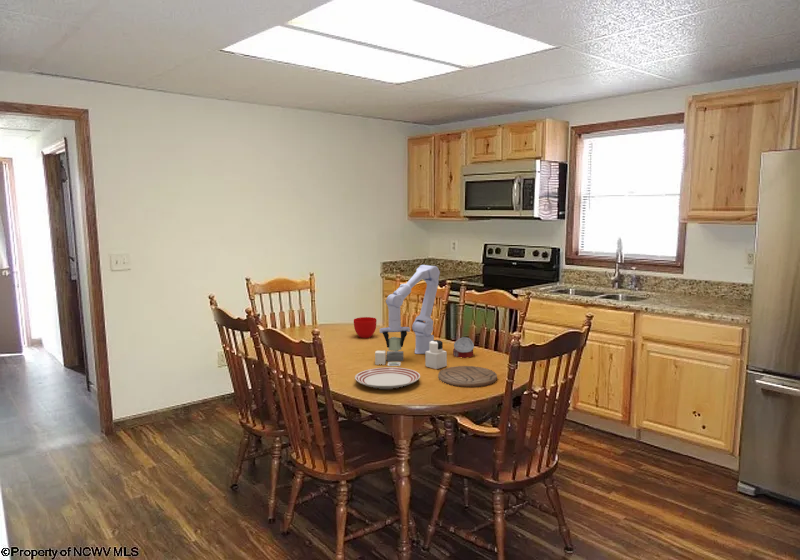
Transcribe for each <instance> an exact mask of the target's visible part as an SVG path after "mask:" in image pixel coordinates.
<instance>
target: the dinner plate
mask: <svg viewBox="0 0 800 560" xmlns="http://www.w3.org/2000/svg"><path fill="white" fill-rule="evenodd" d="M420 378H421V374H420V373H419V372H418V371H416V370H414V369H411V368H405V367H397V366H387V367H377V368H369V369H365V370H362V371H360V372H358V373H356V374H355V375H354V380H356V382H358V383H359V384H361V385H363V386H366V387H370V388H372V387H373V388H372V389H377V388H379V389H378V390H394V389H393V388H396V389H399V387H401V388H403V386H404V387H406V386H409V385H411V384H412V385H413V384H414V383H416V382H417V381H418V380H419V379H420Z"/></svg>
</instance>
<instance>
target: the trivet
mask: <svg viewBox="0 0 800 560" xmlns="http://www.w3.org/2000/svg"><path fill="white" fill-rule="evenodd" d="M437 375H438V376H437V378H438V381H440V380H441V381H442V382H441V381H440V382H441V383H443V382H444V383H443V384H445V383H446V385H448V384H449V385H448V386H452V385H453V386H452V387H458V386H459V387H460V388H481V386H482V387H487V386H490V384H491V385H493V384H495V383H496V382H497V381H496V380H497V379H498V378H497V376H498V374H497V373H496V372H495V371H493V370H492V369H488V368H485V367H481V366H480V367H479V366H473V365H457V366H451V367H446V368H443V369H440V370H439V372H438V374H437ZM495 381H496V382H495ZM494 382H495V383H494ZM492 383H493V384H492ZM459 387H458V388H459Z"/></svg>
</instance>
